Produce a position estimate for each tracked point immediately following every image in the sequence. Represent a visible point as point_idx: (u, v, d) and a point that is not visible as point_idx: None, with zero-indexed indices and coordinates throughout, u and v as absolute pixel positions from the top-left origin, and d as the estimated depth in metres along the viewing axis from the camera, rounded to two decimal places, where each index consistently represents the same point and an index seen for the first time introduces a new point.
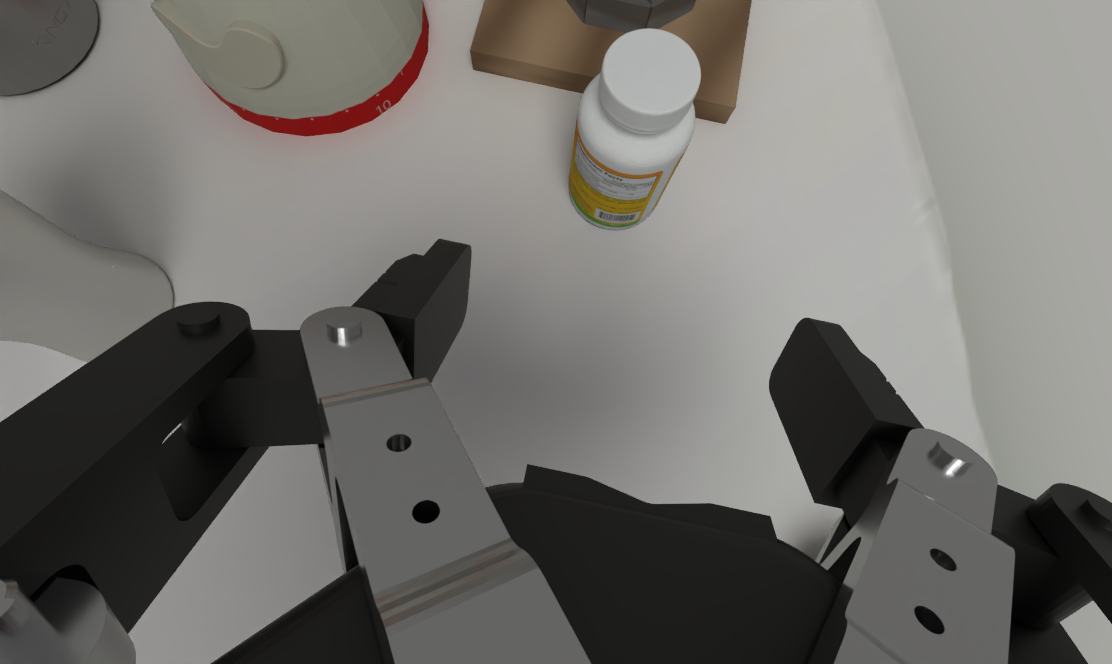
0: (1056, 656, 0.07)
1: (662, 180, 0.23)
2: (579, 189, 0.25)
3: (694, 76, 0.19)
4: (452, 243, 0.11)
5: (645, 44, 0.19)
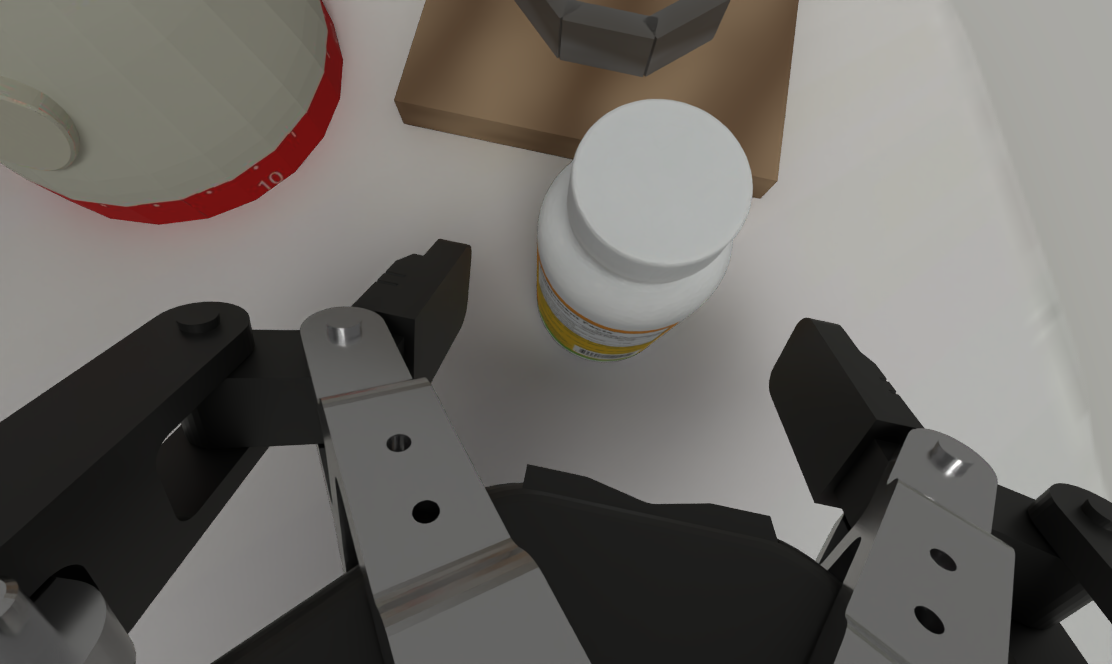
0: (1056, 656, 0.07)
1: (676, 324, 0.14)
2: (548, 317, 0.17)
3: (741, 190, 0.10)
4: (452, 243, 0.11)
5: (650, 129, 0.10)
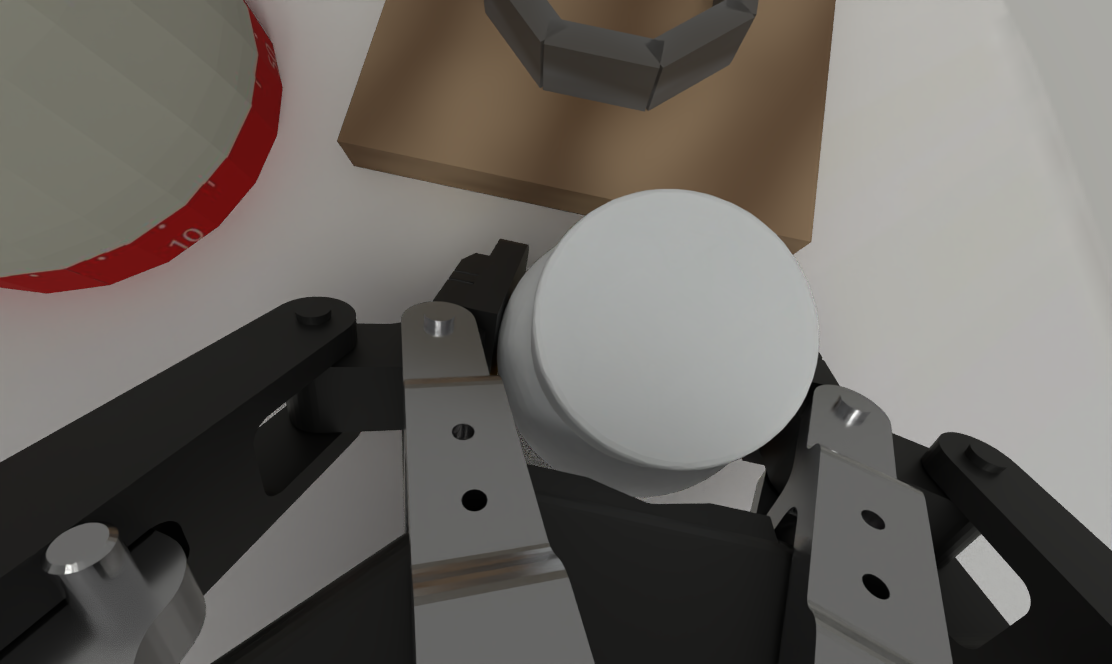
0: (956, 589, 0.08)
1: None
2: None
3: (801, 339, 0.06)
4: (513, 243, 0.11)
5: (657, 239, 0.07)
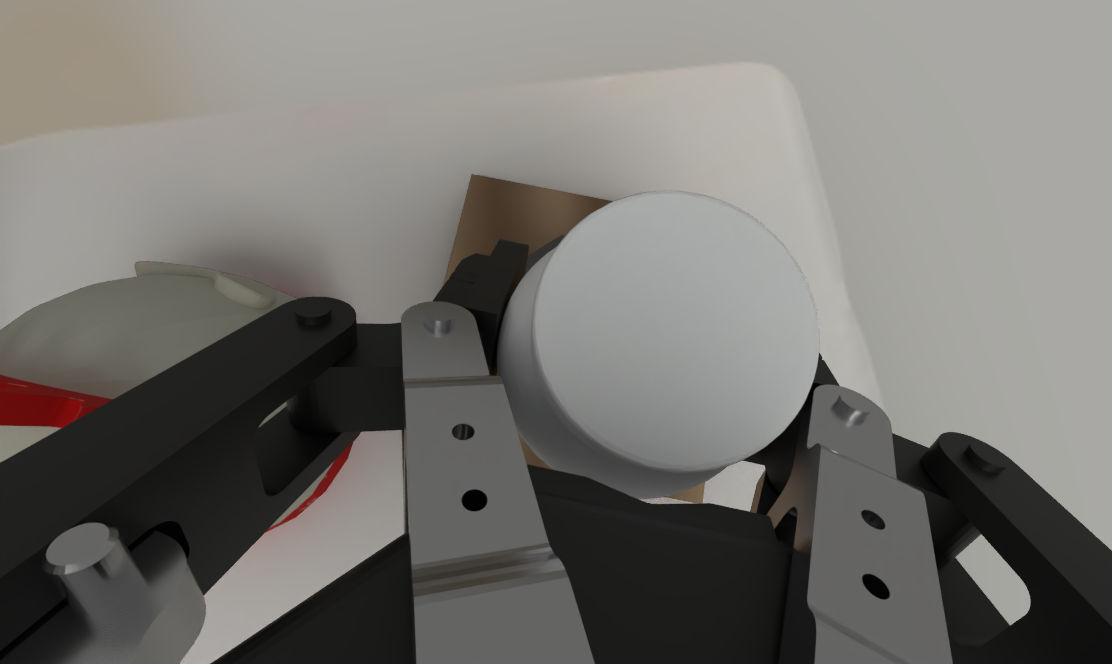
0: (956, 589, 0.08)
1: None
2: None
3: (802, 342, 0.06)
4: (513, 243, 0.11)
5: (657, 241, 0.07)
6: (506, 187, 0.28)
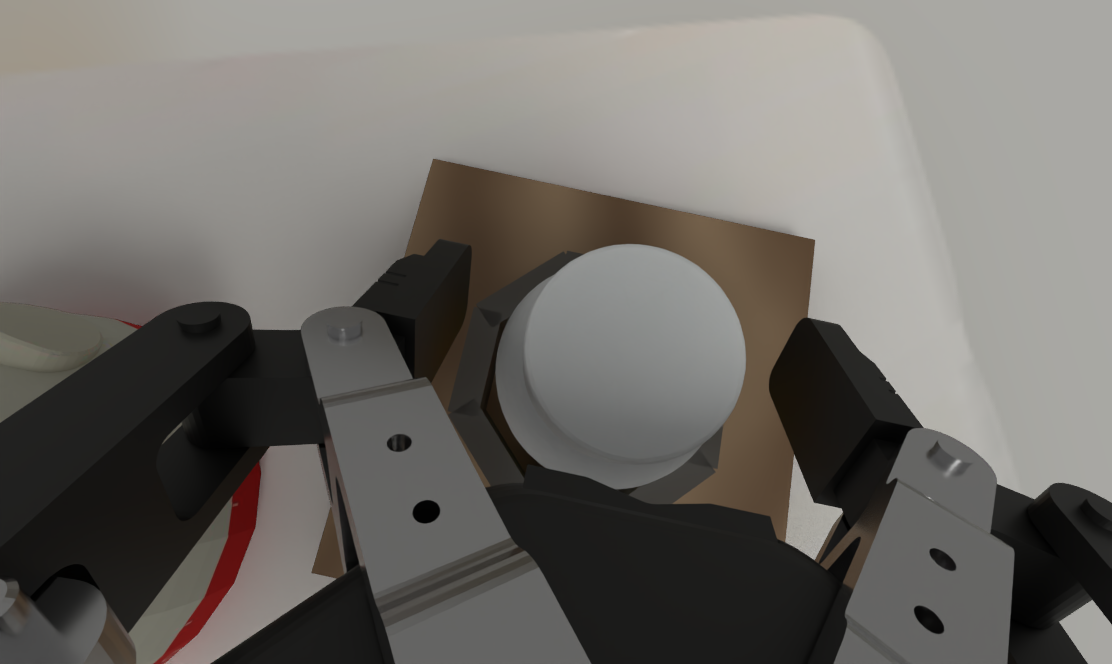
0: (1055, 656, 0.07)
1: None
2: None
3: (731, 364, 0.08)
4: (452, 243, 0.11)
5: (621, 284, 0.09)
6: (483, 179, 0.19)
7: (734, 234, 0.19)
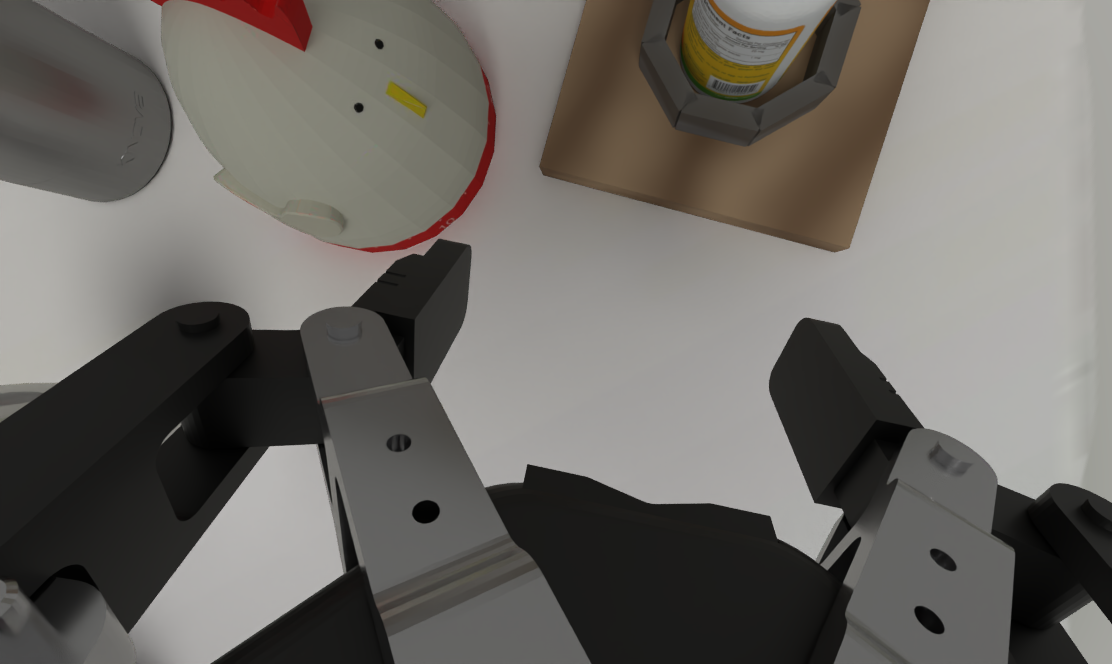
0: (1056, 656, 0.07)
1: (801, 38, 0.19)
2: (692, 50, 0.21)
3: None
4: (452, 243, 0.11)
5: None
6: None
7: None
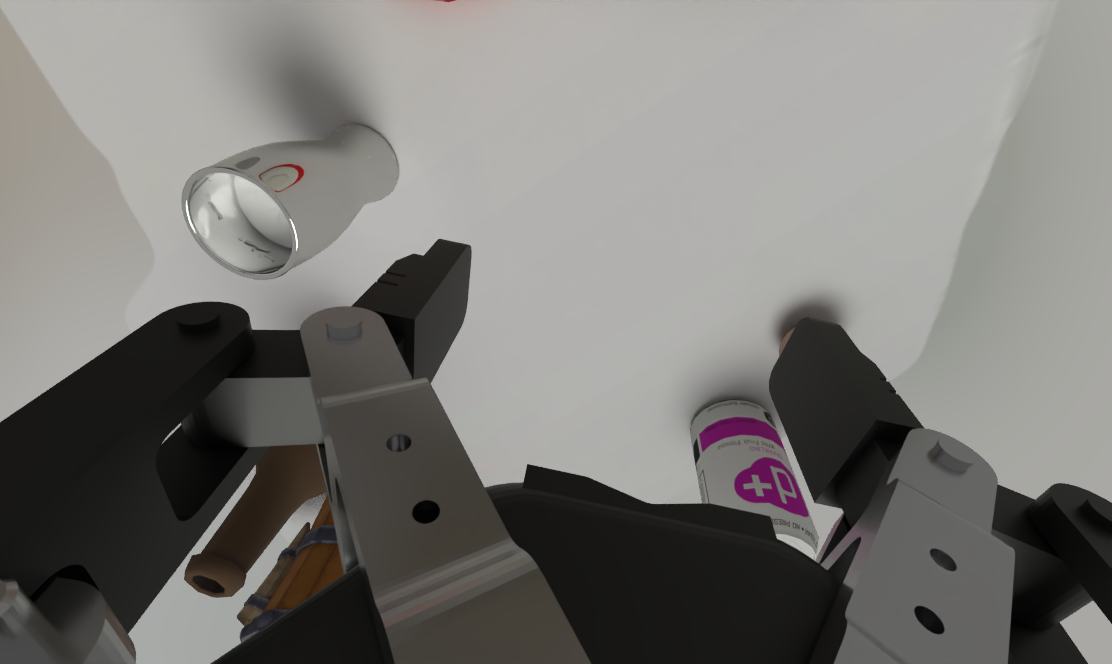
0: (1056, 656, 0.07)
1: None
2: None
3: None
4: (452, 243, 0.11)
5: None
6: None
7: None
